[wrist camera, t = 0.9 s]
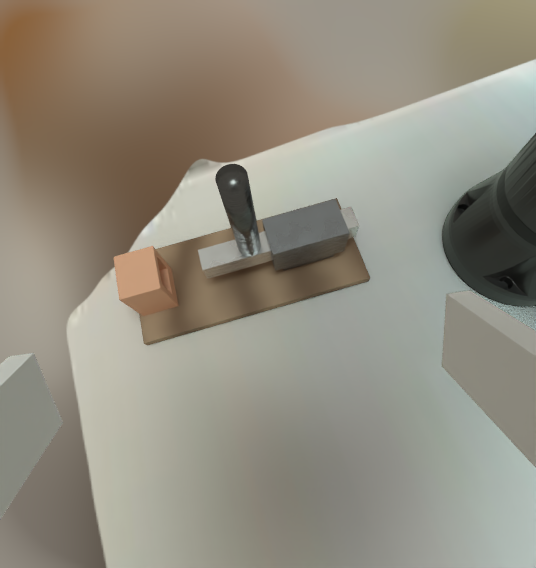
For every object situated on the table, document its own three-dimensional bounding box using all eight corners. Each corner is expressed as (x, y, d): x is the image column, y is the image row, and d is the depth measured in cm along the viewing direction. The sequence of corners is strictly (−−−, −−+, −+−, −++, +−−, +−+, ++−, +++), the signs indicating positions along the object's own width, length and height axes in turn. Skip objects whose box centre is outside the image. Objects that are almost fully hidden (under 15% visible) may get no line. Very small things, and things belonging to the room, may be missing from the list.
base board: (335, 202, 45) (336, 198, 44) (368, 281, 41) (370, 277, 40) (134, 259, 44) (130, 256, 43) (147, 345, 40) (143, 343, 39)
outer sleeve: (330, 225, 43) (335, 198, 37) (342, 256, 41) (349, 232, 36) (265, 244, 42) (261, 219, 37) (275, 275, 41) (273, 254, 36)
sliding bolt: (347, 218, 40) (372, 124, 27) (355, 236, 39) (384, 148, 26) (203, 259, 40) (159, 183, 27) (207, 278, 39) (164, 209, 26)
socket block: (171, 268, 42) (152, 245, 36) (178, 306, 40) (160, 288, 35) (137, 278, 42) (113, 256, 36) (143, 316, 40) (119, 299, 35)
